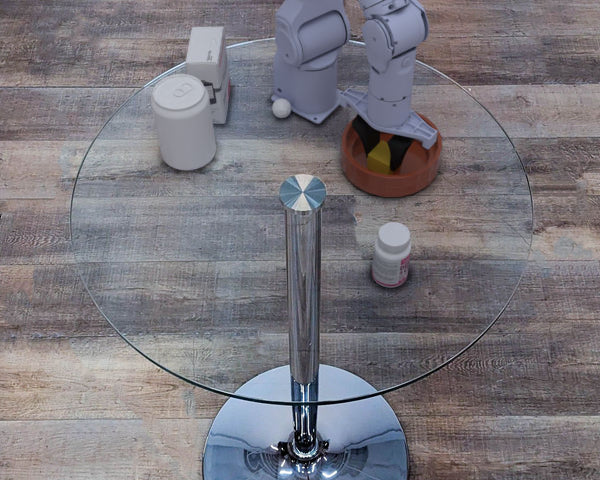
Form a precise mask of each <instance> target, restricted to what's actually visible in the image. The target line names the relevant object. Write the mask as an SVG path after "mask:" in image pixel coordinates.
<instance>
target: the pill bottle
mask: <svg viewBox="0 0 600 480" xmlns="http://www.w3.org/2000/svg"><path fill="white" fill-rule="evenodd" d="M411 254H412V242H411V231H410V230H409V228H408V227H407V226H406V225H404V223H401V222H397V221H390V222H387V223H383V225H381V226H380V228H379V230H378V233H377V237H376V238H375V240H374V244H373V257H372V266H371V275H372V276H371V277H372V279H373V280H374V281H375V283H377V284H378V285H380V286H382V287H385V288H398V287H400V286H402V285H403V284H404V283H405V281H406V280H407V278H408V273H409V267H410V262H411Z"/></svg>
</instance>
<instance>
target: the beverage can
mask: <svg viewBox="0 0 600 480" xmlns="http://www.w3.org/2000/svg"><path fill="white" fill-rule="evenodd" d="M150 106H151V111H152V115H153V116H152V117H153V120H154V126H155V130H156V135H157V139H158V144H159V145H158V146H159V149H160V154H161V158H162V160H163V161H164V163H165V164H167V165H168V166H169V167H171V168H173V169H175V170H179V171H194V170H198V169H201V168H202V167H205V166H207V165H208V164H209V163H211V161H212V160H213V159H214V157H215V155H216V152H217V145H216V143H217V142H216V135H215V129H214V124H213V121H212V114H211V107H210V99H209V94H208V91H207V89H206V88H205V87H204V85H203V83H202V82H201V81H200V80H199V79H198V78H196V77H194V76H191V75H187V73H176V74H171V75H168V76H166V77H164V78H162V79H161V80H159V81H158V82H157V83H156V84H155V85H154V87H153V89H152V93H151V96H150Z"/></svg>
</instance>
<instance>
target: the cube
mask: <svg viewBox="0 0 600 480" xmlns="http://www.w3.org/2000/svg"><path fill="white" fill-rule="evenodd" d="M367 168H368V169H369V170H371V171H373V172H376V173H380V174H385V175H392V174H393V173H394V172H393V171H391V170H390V149H389V146H388V144H387V143H386V142H384V141H383V140H382V141H381V142H380V143H379V144H378V145H377V146H376V147H375V148H374V149H373V150H372V151H371V152H370V153H369V154H368V160H367Z"/></svg>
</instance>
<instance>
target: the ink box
mask: <svg viewBox="0 0 600 480" xmlns="http://www.w3.org/2000/svg"><path fill="white" fill-rule="evenodd" d="M225 32H226V31H225V27H224V26H193V27H192V28H191V31H190V37H189V41H188V46H187V47H188V48H187V50H186V51H187V52H186V57H185V62H184V64H185V71H186V74H187V75H191V76H194V77H196V78H198V79H199V80H200V81H201V82H202V83H203V85H204V87H205V88H206V89H207V91H208V94H209V99H210V107H211V114H212V121H213V125H215V124H216V125H217V124H218V125H224V124H226V121H227V116H228V110H229V102H230V101H229V100H230V94H231V79H230V70H229V61H228V51H227V41H226V33H225Z"/></svg>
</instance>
